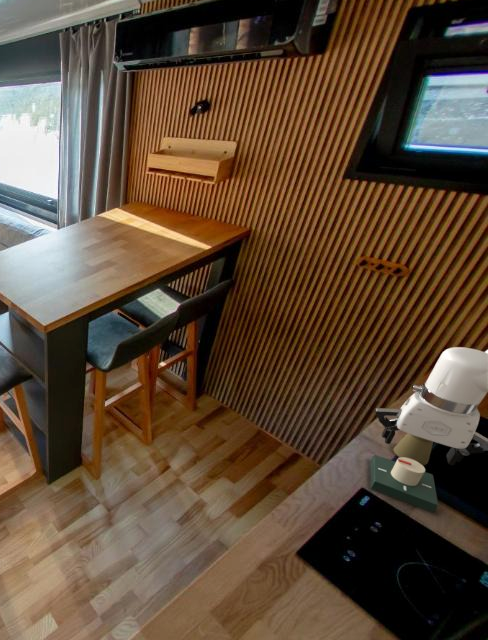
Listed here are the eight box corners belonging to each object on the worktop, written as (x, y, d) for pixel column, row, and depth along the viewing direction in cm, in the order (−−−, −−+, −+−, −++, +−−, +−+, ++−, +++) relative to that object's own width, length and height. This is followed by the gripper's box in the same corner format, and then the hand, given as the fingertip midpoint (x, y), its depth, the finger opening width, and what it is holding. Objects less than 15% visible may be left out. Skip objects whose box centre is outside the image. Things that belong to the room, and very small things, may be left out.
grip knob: (416, 476, 91) (424, 462, 89) (418, 489, 89) (426, 475, 86) (390, 466, 94) (397, 453, 92) (391, 479, 92) (398, 465, 89)
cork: (405, 464, 97) (421, 435, 92) (387, 445, 102) (401, 417, 97) (435, 466, 95) (453, 437, 91) (415, 447, 100) (430, 419, 96)
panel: (428, 482, 92) (433, 474, 91) (433, 512, 86) (438, 504, 85) (370, 461, 99) (373, 453, 98) (371, 488, 93) (375, 480, 92)
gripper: (389, 392, 84) (364, 442, 91) (522, 427, 72) (480, 482, 79) (388, 374, 88) (364, 423, 95) (512, 405, 76) (474, 458, 84)
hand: (417, 449), depth 87 cm, fingers open, 9 cm apart
